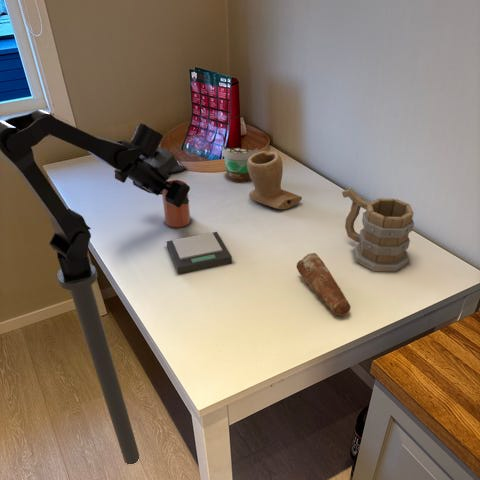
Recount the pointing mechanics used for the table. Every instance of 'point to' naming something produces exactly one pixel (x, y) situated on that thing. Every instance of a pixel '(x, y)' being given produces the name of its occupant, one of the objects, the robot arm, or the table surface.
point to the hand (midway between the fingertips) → (179, 198)
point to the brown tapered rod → (323, 283)
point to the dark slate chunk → (175, 169)
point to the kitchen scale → (198, 252)
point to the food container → (237, 163)
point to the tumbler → (175, 211)
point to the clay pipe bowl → (269, 181)
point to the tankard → (380, 232)
